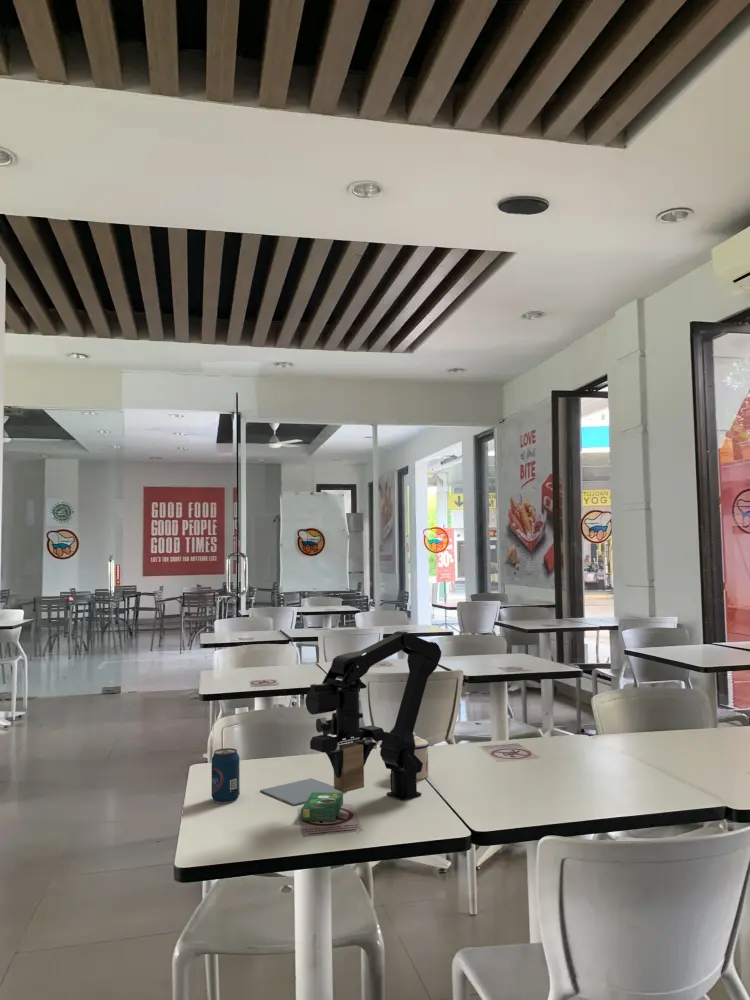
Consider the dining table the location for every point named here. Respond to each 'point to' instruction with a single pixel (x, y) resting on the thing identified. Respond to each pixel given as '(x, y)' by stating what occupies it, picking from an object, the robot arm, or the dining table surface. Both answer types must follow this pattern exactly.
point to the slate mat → (299, 791)
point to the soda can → (225, 775)
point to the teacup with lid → (421, 756)
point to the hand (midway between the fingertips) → (348, 775)
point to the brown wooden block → (351, 768)
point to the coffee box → (322, 806)
